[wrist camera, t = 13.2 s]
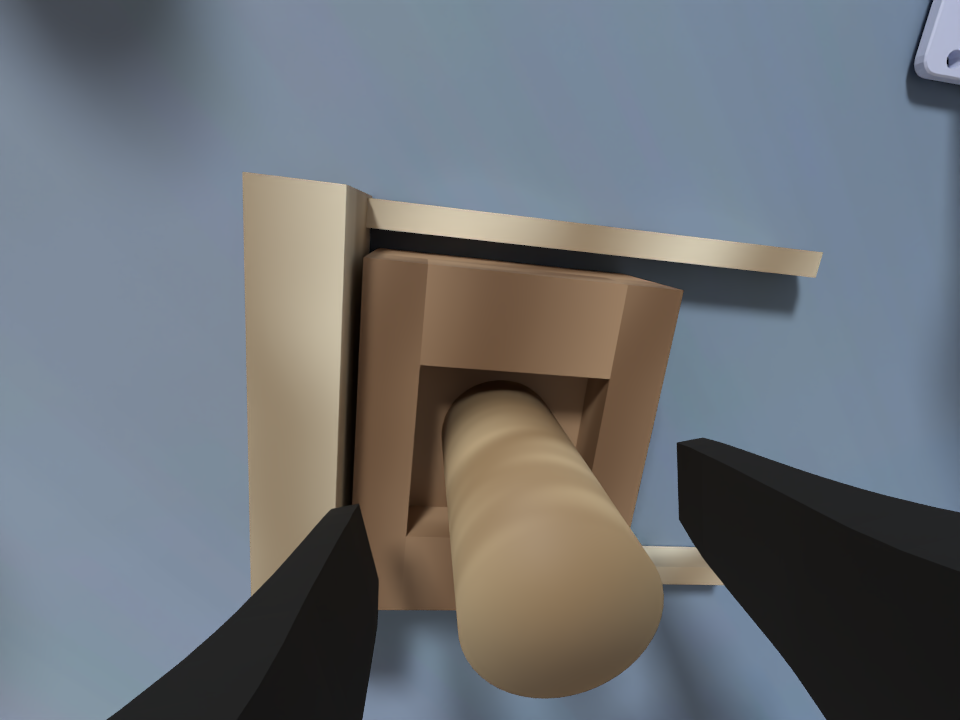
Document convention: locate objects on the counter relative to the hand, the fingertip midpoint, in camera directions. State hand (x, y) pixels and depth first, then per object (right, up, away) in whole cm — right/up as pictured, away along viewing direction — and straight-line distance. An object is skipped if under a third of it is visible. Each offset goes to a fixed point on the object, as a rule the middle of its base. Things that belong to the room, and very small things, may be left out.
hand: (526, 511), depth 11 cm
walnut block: (-1, +2, +6) cm, 7 cm away
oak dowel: (-1, +1, +4) cm, 4 cm away
